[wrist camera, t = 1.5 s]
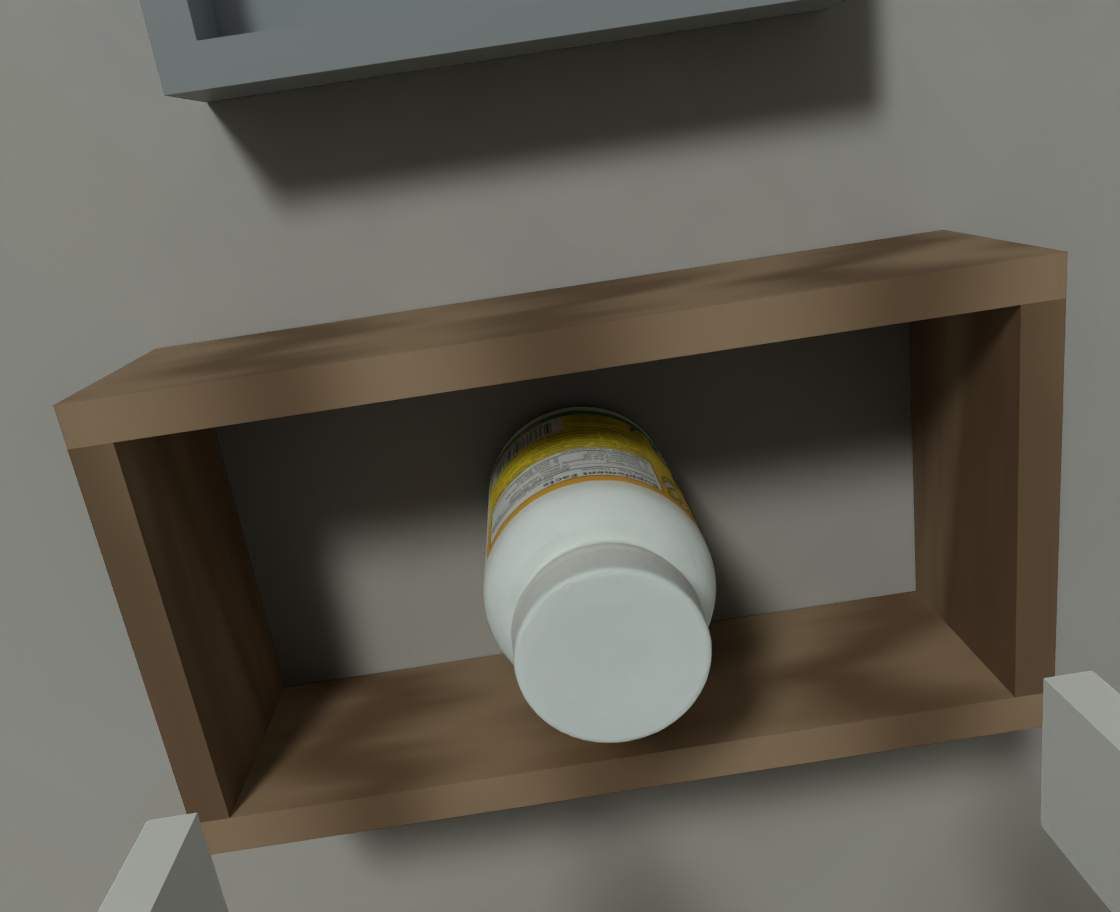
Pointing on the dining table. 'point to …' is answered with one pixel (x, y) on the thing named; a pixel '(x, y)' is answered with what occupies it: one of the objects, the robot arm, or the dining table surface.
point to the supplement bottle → (597, 577)
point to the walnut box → (737, 644)
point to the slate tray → (397, 35)
